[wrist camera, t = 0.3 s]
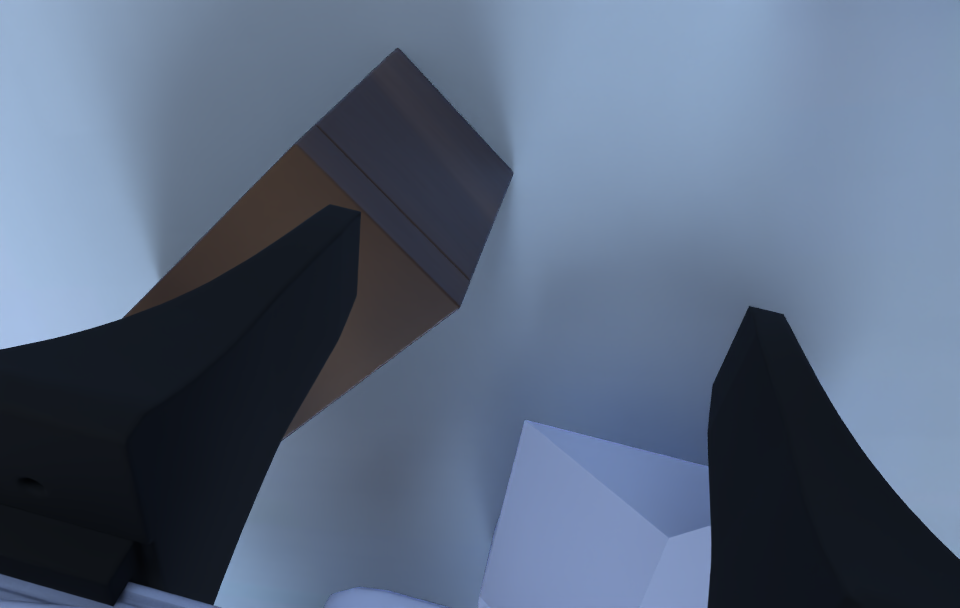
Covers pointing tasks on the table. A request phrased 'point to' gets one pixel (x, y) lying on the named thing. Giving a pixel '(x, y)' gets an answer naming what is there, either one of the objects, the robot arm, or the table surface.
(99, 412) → the robot arm
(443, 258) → the walnut stand
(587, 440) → the wedge on round base
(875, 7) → the table surface
